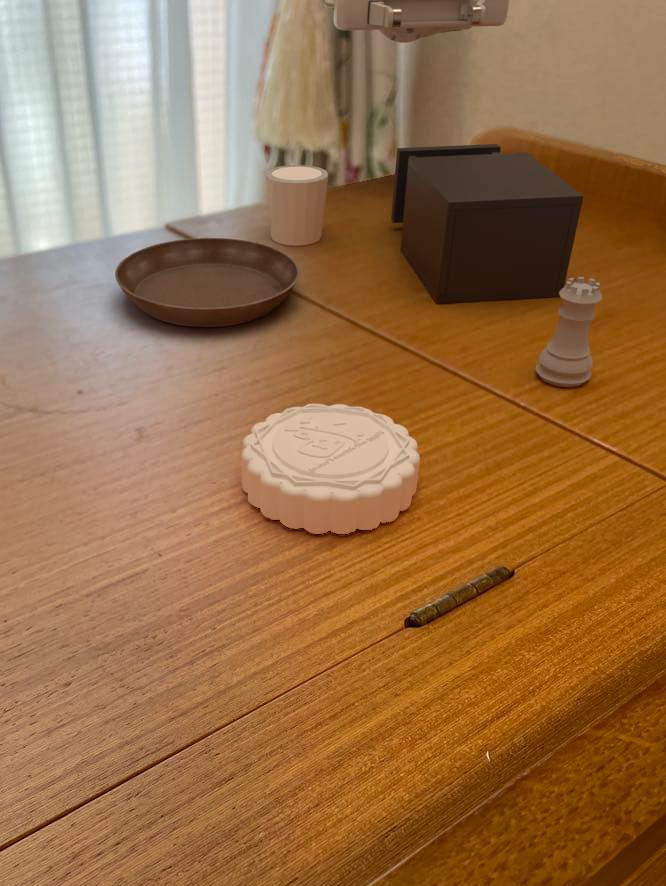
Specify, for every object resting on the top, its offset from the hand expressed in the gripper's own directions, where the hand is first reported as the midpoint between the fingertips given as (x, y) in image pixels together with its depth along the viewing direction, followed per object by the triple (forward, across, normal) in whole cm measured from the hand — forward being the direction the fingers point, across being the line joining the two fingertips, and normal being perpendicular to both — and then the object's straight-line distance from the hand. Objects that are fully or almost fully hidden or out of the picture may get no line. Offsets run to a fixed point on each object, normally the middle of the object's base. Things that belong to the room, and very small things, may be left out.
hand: (437, 17), depth 95 cm
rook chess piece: (+46, 0, +20) cm, 50 cm away
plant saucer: (+26, -28, +20) cm, 43 cm away
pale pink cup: (+10, -17, +20) cm, 28 cm away
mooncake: (+59, -22, +20) cm, 66 cm away
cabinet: (+23, 0, +20) cm, 30 cm away
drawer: (+13, 0, +19) cm, 23 cm away
